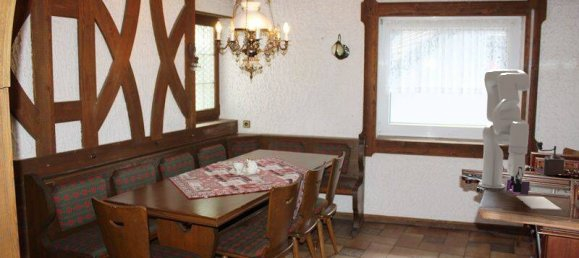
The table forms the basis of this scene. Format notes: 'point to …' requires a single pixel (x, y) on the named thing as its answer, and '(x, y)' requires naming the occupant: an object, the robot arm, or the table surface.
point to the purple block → (523, 187)
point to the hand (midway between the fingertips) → (515, 190)
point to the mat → (538, 203)
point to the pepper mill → (552, 162)
